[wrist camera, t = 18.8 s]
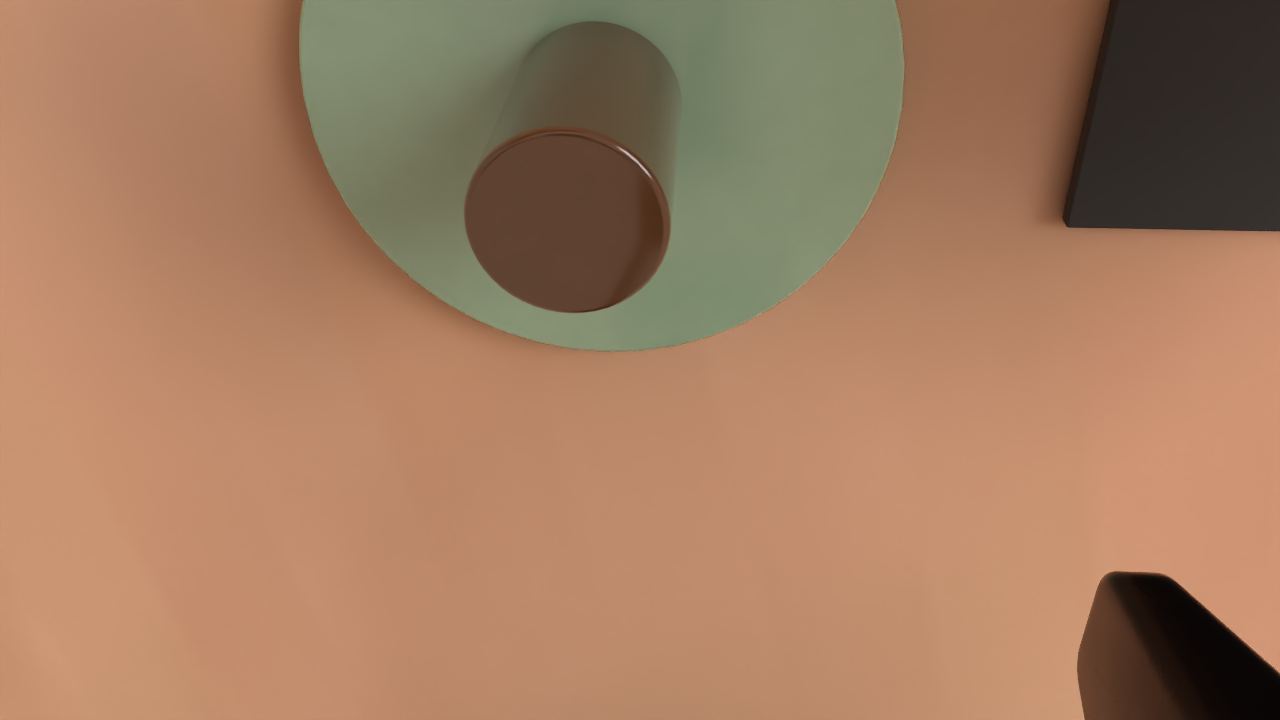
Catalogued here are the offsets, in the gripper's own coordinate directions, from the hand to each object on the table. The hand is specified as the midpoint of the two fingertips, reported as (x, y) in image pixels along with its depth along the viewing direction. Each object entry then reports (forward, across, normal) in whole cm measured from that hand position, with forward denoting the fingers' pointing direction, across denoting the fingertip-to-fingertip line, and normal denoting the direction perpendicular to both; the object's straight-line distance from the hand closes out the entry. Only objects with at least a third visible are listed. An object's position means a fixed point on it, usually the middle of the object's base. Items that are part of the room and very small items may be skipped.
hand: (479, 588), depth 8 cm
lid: (+10, 0, 0) cm, 10 cm away
